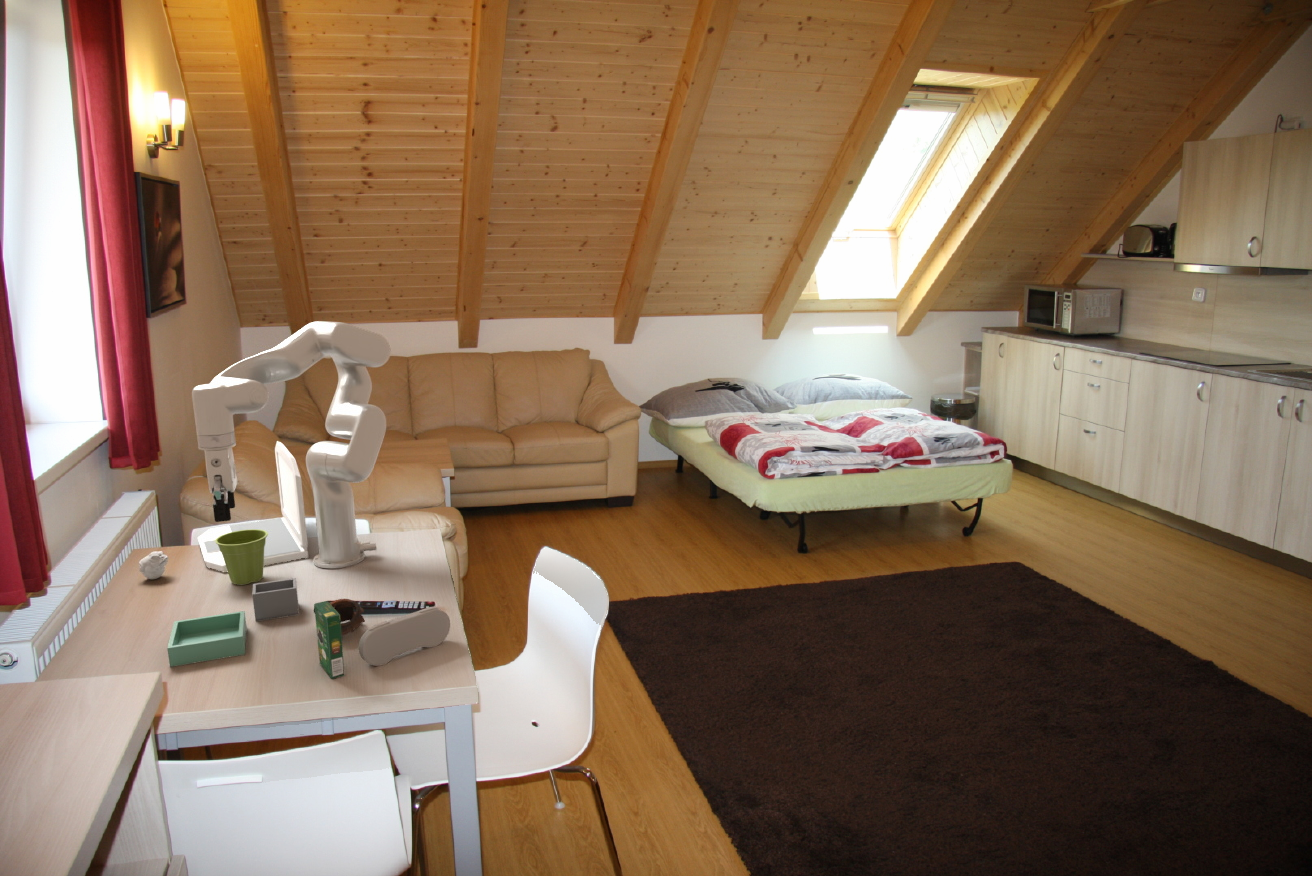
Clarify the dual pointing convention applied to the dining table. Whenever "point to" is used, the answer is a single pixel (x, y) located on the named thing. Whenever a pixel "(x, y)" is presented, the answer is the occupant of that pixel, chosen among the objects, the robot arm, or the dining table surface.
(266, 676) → the dining table surface
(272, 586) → the small crate
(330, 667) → the coffee box
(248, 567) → the plant pot
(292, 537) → the laptop
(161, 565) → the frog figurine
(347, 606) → the pottery mug
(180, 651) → the big crate
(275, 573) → the dining table surface
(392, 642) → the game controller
